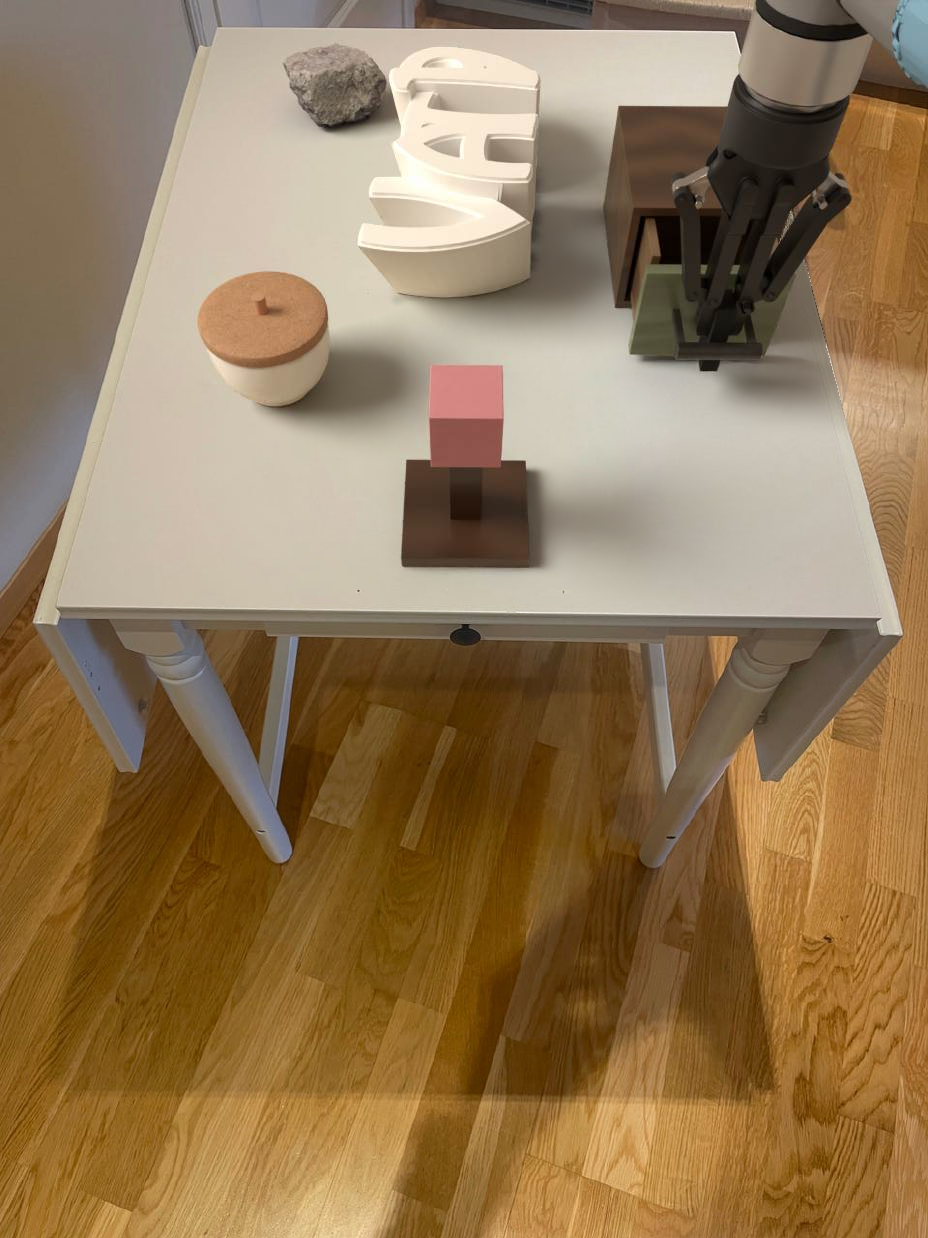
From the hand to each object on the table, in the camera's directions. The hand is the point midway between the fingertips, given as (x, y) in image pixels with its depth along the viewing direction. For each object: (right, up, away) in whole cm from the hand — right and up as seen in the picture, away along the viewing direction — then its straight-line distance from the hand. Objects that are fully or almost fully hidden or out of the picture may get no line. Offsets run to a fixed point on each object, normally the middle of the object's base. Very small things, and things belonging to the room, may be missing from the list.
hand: (706, 360), depth 77 cm
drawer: (0, +5, +5) cm, 7 cm away
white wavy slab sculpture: (-22, +19, +15) cm, 33 cm away
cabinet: (0, +14, +11) cm, 18 cm away
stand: (-21, -14, -5) cm, 26 cm away
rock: (-36, +36, +25) cm, 56 cm away
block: (-21, -10, -13) cm, 27 cm away
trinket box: (-38, -1, +2) cm, 38 cm away
